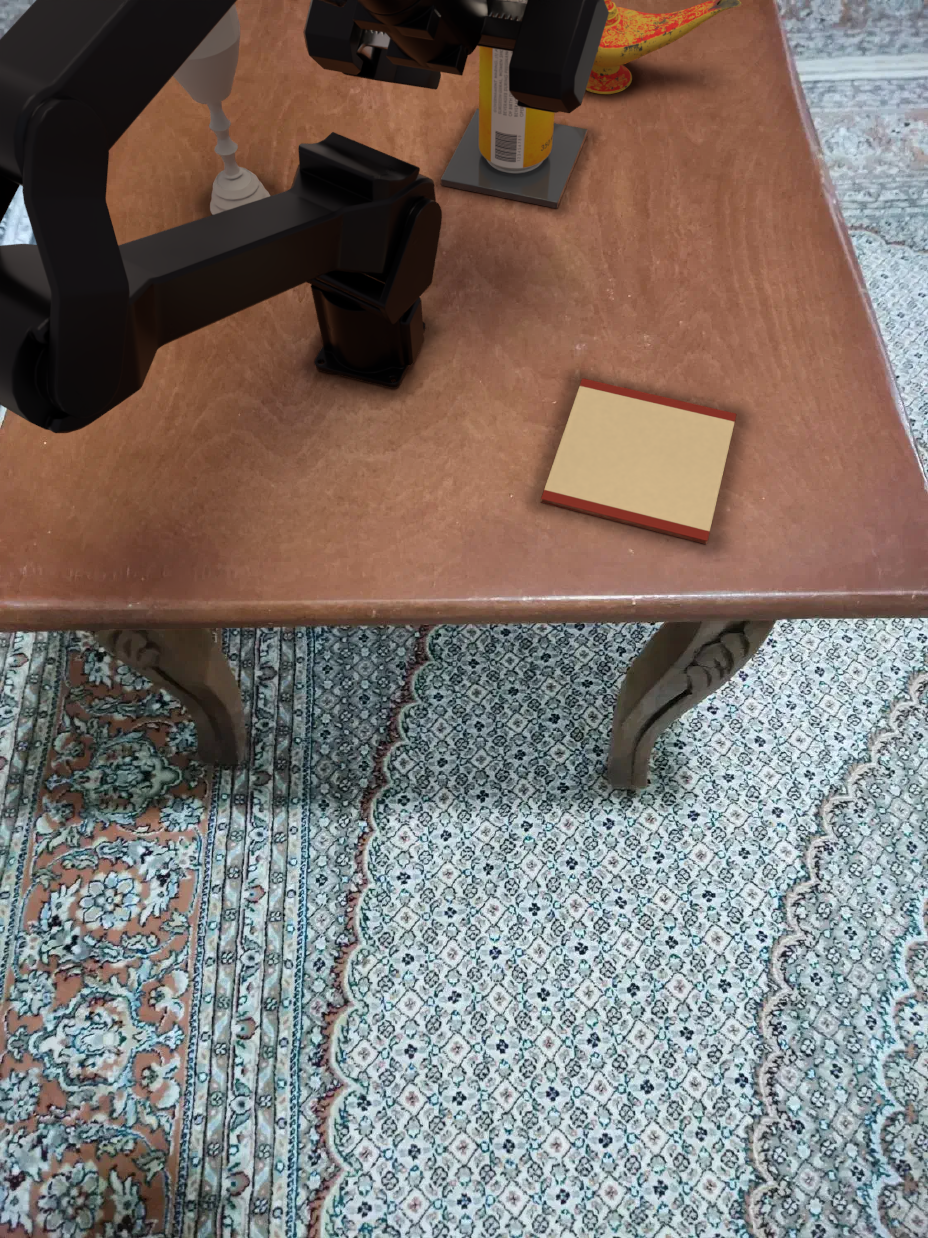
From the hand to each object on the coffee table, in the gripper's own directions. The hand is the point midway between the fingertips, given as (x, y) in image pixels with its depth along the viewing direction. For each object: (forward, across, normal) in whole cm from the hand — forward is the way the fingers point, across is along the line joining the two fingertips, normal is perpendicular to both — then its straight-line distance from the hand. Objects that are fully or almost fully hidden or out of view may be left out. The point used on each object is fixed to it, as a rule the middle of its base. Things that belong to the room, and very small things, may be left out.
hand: (495, 91), depth 61 cm
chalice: (+3, +21, +11) cm, 24 cm away
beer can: (+13, +3, 0) cm, 14 cm away
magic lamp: (+23, 0, -11) cm, 26 cm away
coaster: (+14, +3, 0) cm, 14 cm away
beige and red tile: (0, -18, +21) cm, 28 cm away
